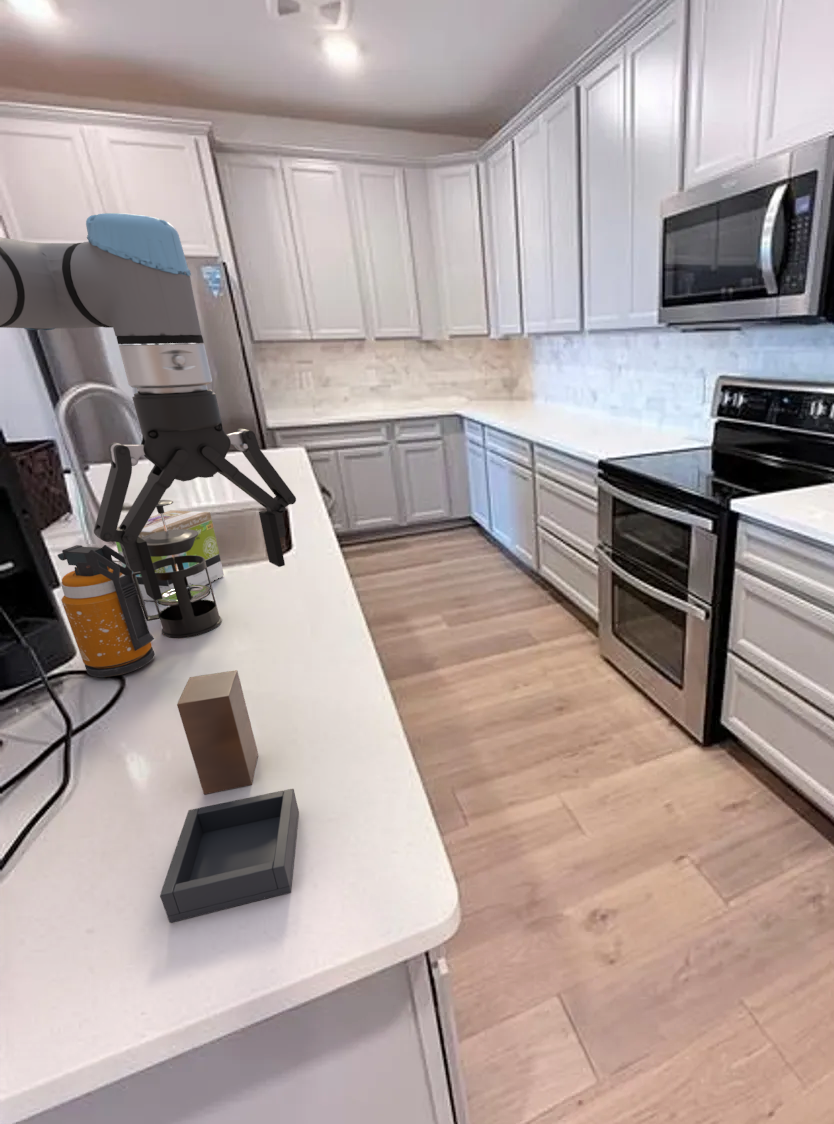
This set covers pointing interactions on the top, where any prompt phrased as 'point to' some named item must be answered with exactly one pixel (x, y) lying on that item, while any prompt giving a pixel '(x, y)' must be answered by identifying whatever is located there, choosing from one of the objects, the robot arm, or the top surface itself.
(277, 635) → the top surface
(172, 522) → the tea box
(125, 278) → the robot arm
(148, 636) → the canister
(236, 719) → the brown rectangular block
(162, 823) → the top surface
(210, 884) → the socket pad
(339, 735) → the top surface
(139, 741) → the top surface
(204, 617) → the french press
